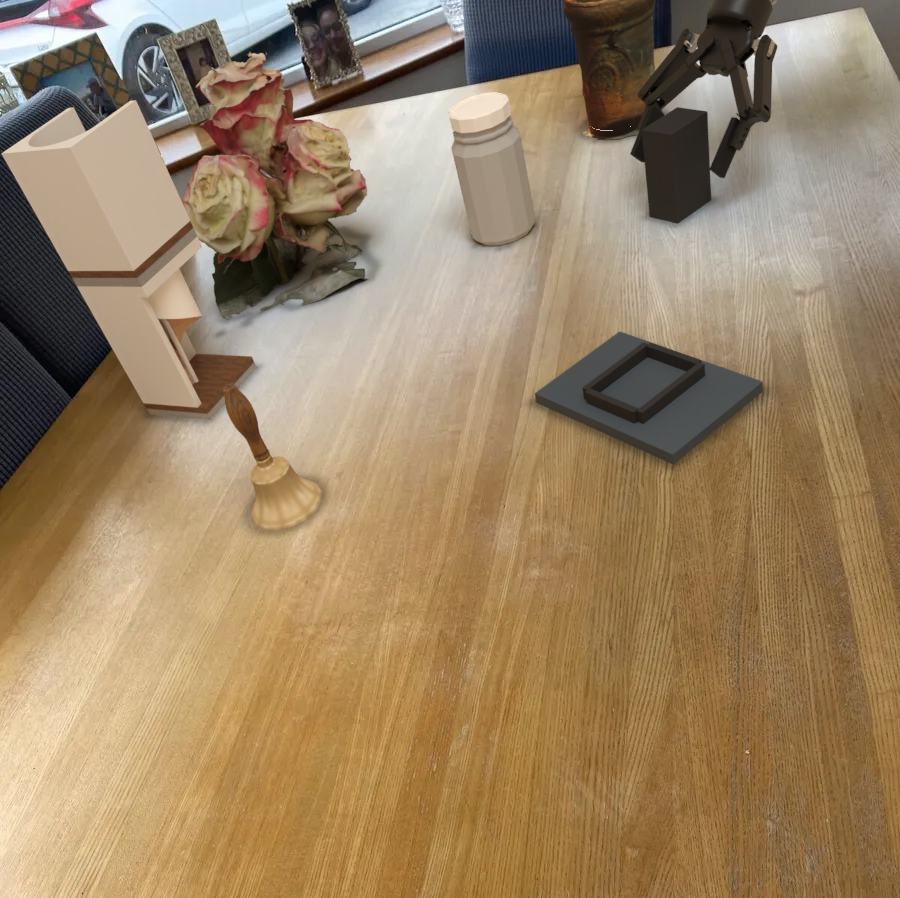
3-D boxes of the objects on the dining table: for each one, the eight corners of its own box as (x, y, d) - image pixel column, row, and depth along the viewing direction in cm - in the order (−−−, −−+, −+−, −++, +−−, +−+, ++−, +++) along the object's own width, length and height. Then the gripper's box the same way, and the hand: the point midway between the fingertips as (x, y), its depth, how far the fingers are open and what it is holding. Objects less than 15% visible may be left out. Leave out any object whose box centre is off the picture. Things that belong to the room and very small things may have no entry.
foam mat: (763, 393, 99) (762, 369, 96) (673, 466, 94) (671, 442, 92) (621, 342, 111) (618, 319, 109) (536, 404, 107) (532, 382, 105)
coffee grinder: (211, 421, 122) (70, 147, 97) (150, 415, 126) (1, 153, 102) (257, 369, 128) (135, 100, 103) (197, 366, 133) (68, 108, 108)
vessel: (658, 95, 159) (647, -41, 145) (677, 125, 149) (668, -18, 135) (574, 119, 161) (555, -14, 147) (587, 150, 151) (569, 11, 137)
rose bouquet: (215, 339, 137) (115, 128, 116) (240, 248, 157) (159, 54, 136) (385, 298, 133) (313, 71, 112) (388, 210, 153) (328, 5, 132)
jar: (467, 254, 136) (436, 126, 124) (477, 221, 143) (449, 97, 130) (533, 244, 133) (508, 112, 121) (540, 211, 140) (518, 83, 127)
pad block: (711, 201, 129) (707, 111, 121) (677, 225, 127) (671, 134, 119) (683, 195, 133) (677, 106, 124) (649, 218, 130) (641, 129, 122)
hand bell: (240, 530, 104) (176, 413, 93) (270, 481, 109) (213, 364, 98) (305, 532, 101) (247, 411, 90) (333, 481, 106) (282, 361, 95)
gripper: (655, -23, 125) (591, 141, 131) (820, -17, 109) (739, 169, 115) (684, 6, 130) (622, 162, 136) (845, 15, 114) (767, 192, 120)
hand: (675, 166), depth 126 cm, fingers open, 13 cm apart
